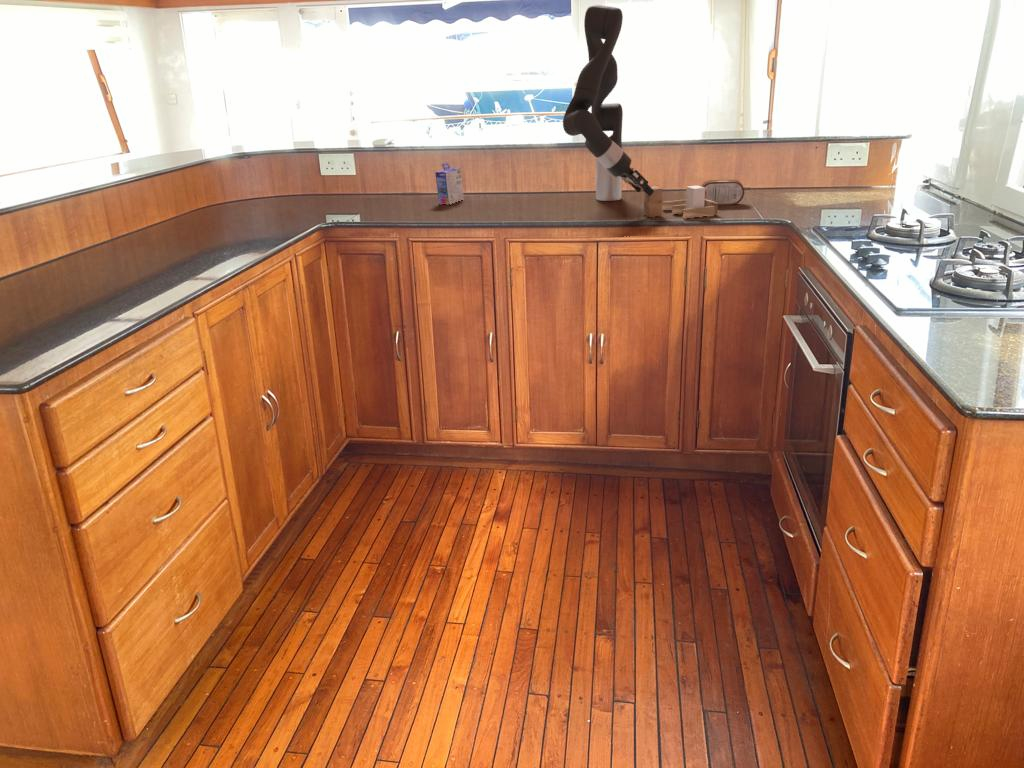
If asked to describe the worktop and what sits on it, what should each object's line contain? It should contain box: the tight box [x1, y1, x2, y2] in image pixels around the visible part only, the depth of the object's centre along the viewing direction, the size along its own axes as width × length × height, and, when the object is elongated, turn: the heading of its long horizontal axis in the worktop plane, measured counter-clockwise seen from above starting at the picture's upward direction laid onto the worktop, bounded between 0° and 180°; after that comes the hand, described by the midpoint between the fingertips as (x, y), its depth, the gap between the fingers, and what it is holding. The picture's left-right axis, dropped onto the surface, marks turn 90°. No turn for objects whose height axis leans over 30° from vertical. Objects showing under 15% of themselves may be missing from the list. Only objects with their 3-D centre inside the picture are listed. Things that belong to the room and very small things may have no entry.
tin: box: [701, 179, 745, 206], centre depth 273 cm, size 15×3×8 cm, turn 84°
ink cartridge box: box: [435, 162, 465, 206], centre depth 300 cm, size 10×6×14 cm, turn 148°
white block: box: [685, 185, 705, 209], centre depth 259 cm, size 5×4×9 cm
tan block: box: [643, 185, 663, 218], centre depth 261 cm, size 5×4×9 cm
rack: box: [662, 199, 719, 220], centre depth 263 cm, size 15×12×4 cm
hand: (646, 191), depth 259 cm, fingers open, 8 cm apart
